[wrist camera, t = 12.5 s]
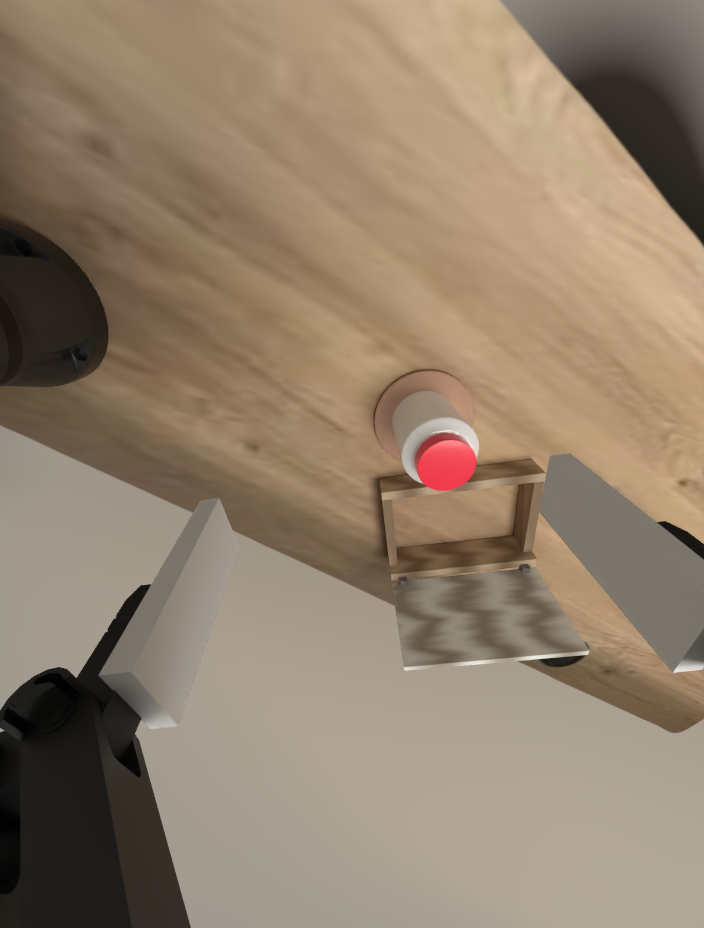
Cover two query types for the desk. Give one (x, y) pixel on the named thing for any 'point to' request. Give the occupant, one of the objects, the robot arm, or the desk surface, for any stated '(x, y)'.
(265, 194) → the desk surface
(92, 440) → the desk surface
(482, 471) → the frame
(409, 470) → the pill bottle
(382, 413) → the saucer
